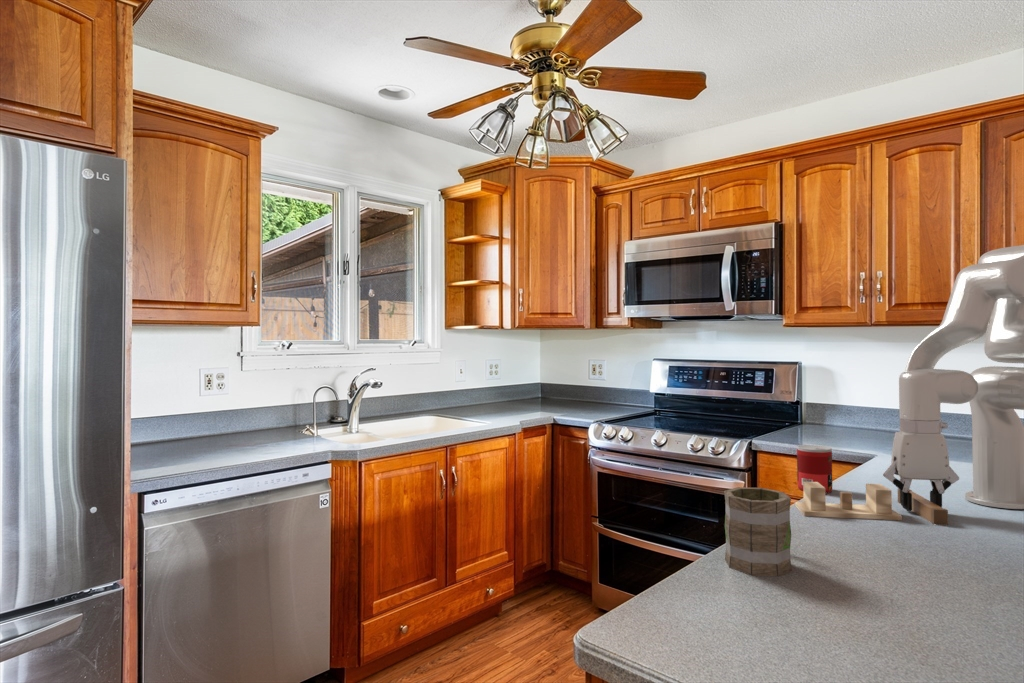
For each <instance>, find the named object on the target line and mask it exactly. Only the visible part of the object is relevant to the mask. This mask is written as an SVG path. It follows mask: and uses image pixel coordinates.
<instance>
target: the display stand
mask: <svg viewBox="0 0 1024 683" xmlns="http://www.w3.org/2000/svg"><path fill="white" fill-rule="evenodd" d="M802 492H803V494H802V495H803V497H802V498H803V501H795V505H794V506H795V507H796V509H798V511H799V512H800V513H801V514H802V515H803V516H804V517H819V518H821V517H823V518H839V519H840V518H842V519H843V518H845V519H862V520H863V519H865V520H866V519H867V520H886V521H887V520H889V521H902V518H903V516H902V515H901V514H900V513H898V512H897V511H895V510H894V509H893V507H892V506H893V505H892V503H893V502H892V500H893V499H892V496H893V495H892V489H889V488H888V487H886V486H885V485H883V484H881V483H865V504H859V503H858V504H856V503H855V504H854V503H853V493H852V492H850V491H839V503H834V502H833V503H830V502H829V503H827V502H826V494H825V488H824V487H823V486H822V485H821V484H819V483H818V482H803V491H802Z"/></svg>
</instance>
